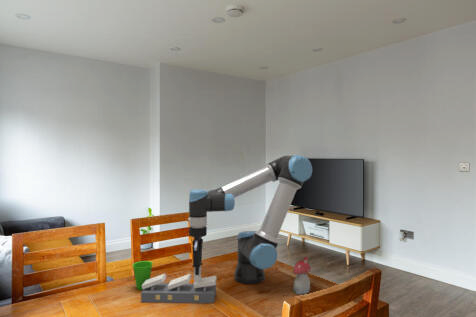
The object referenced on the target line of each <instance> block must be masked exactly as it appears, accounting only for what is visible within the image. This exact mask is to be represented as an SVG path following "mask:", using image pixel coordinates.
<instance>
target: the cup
mask: <svg viewBox="0 0 476 317" xmlns="http://www.w3.org/2000/svg"><path fill="white" fill-rule="evenodd" d="M153 265H154V263H153V261H150V260H142V261H141V260H139V261H136V262H134V263H133V264H132V268H133V273H134V281H135V287H136V289H137V290H138V291H143V290H144V289H142V285H143V283H144V282H145V281H146V280H148V279H151V274H152V268H153Z"/></svg>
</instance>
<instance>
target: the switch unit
mask: <svg viewBox="0 0 476 317" xmlns="http://www.w3.org/2000/svg"><path fill="white" fill-rule="evenodd" d="M169 283H170V282H168V283H167V282H162V283H160V284H157V285H154V286H151V287H148V288H145V289H144V290H141V293H140V302H141V303H159V304H161V303H165V304H170V303H171V304H214V303H215V299H216V294H217V284H216V285H212V286H205V287H199V288H194V282H193V283H191V282H189V283H187V284H184V285H181V286H178V287H175V288H172V289H170V290H169V289H168V285H169Z"/></svg>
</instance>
